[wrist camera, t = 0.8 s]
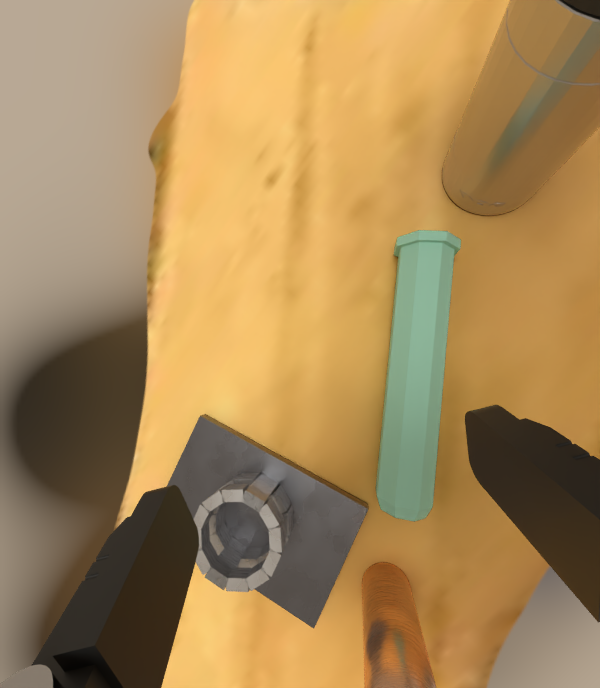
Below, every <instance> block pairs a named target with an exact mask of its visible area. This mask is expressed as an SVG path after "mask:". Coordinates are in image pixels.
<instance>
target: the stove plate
mask: <svg viewBox="0 0 600 688" xmlns="http://www.w3.org/2000/svg"><path fill="white" fill-rule="evenodd" d="M172 485H176V486H177V487H178V488H179V489H180V491H181V493H182V495H183V497H184V500H185V502H186V504H187V506H188V508H189V511H190V513H191V515H192V517H193V519H194V522H195V524H196V526H197V529H198V534H199V549H198V554H197V558H196V563H197V565H198V567H199V569H200V571H201V572H202V574H203V575H204V574H205V573H207V574H206V576H205V578H207V579H208V580H210V581H211V582H212V583H214V584H215V585H217V586H218V587H220V588H221V589H223V590H224V589H225V587H226V591H238V592H248V591H249V589H250V590H251V591H252V590H253V589H255V590H257V591H258V592H260V593H261V594H263V595H264V596H266V597H267V598H269V599H270V600H272V601H273V602H275V603H276V604H278V605H279V606H281V607H282V608H284V609H285V610H287V611H288V612H290V613H291V614H293V615H294V616H296V617H297V618H299V619H300V620H302V621H303V622H305V623H306V624H308V625H309V626H311V627H312V628H314V627H315V625H316V623H317V621H318V618H319V616H320V614H321V612H322V610H323V607H324V605H325V603H326V601H327V599H328V597H329V594H330V592H331V590H332V588H333V586H334V583H335V581H336V579H337V577H338V575H339V572H340V570H341V568H342V566H343V564H344V561H345V559H346V557H347V555H348V553H349V550H350V548H351V546H352V544H353V542H354V540H355V537H356V535H357V533H358V531H359V529H360V526H361V524H362V522H363V520H364V518H365V515H366V513H367V511H368V504H367V503H365V502H363V501H361V500H360V499H358V498H356V497H354V496H352V495H351V494H349V493H347V492H345V491H343V490H342V489H340V488H338V487H336V486H334V485H332V484H331V483H329V482H327V481H325V480H323V479H322V478H320V477H318V476H316V475H314V474H313V473H311V472H309V471H307V470H305V469H303V468H302V467H300V466H298V465H296V464H294V463H293V462H291V461H289V460H287V459H285V458H284V457H282V456H280V455H278V454H276V453H275V452H273V451H271V450H269V449H267V448H265V447H264V446H262V445H260V444H258V443H256V442H255V441H253V440H251V439H249V438H247V437H246V436H244V435H242V434H240V433H238V432H236V431H235V430H233V429H231V428H229V427H227V426H226V425H224V424H222V423H220V422H218V421H217V420H215V419H213V418H211V417H209V416H207V415H206V414H205V415H201V416H200V417H199V419H198V422H197V424H196V426H195V428H194V430H193V432H192V434H191V436H190V438H189V441H188V443H187V445H186V447H185V449H184V451H183V453H182V455H181V458H180V460H179V462H178V464H177V466H176V468H175V470H174V472H173V474H172V477H171V479H170V481H169V483H168V485H167V487H168V486H172Z"/></svg>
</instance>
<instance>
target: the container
mask: <svg viewBox="0 0 600 688" xmlns="http://www.w3.org/2000/svg"><path fill="white" fill-rule="evenodd" d="M460 247H461V239H459V238H457V237H456V236H454V235H453V234H451V233H449V232H448V231H426V230H418V231H415V232H412V233H409V234H406V235H403V236H400V237H398V238H397V241H396V244H395V249H394V255H395V256H397V257H398V265H397V276H396V286H395V296H394V306H393V317H392V327H391V337H390V347H389V358H388V368H387V378H386V388H385V399H384V409H383V419H382V429H381V440H380V450H379V460H378V470H377V481H376V494H377V498H378V502H379V505H380V508H381V510H383V511H384V512H386V513H388V514H390V515H391V516H393V517H395V518H399V519H404V520H409V521H414V522H415V521H418V520H421V519H424V518H426V517H427V515H428V513H429V512H430V510H431V509H432V507H433V497H434V485H435V474H436V462H437V450H438V438H439V427H440V415H441V403H442V391H443V380H444V368H445V356H446V345H447V333H448V321H449V309H450V298H451V286H452V274H453V262H454V256H455V255H456V253H457V252H458V251H459V250H460Z"/></svg>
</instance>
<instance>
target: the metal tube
mask: <svg viewBox="0 0 600 688" xmlns="http://www.w3.org/2000/svg"><path fill="white" fill-rule="evenodd" d="M362 604H363V641H364V679H365V688H436V685H435V681H434V677H433V673H432V669H431V665H430V661H429V658H428V654H427V650H426V646H425V642H424V638H423V634H422V630H421V626H420V623H419V619H418V615H417V611H416V607H415V603H414V599H413V595H412V591H411V588H410V584H409V581H408V579H407V577H406V575H405V574H404V573H403V571H402V570H401V569H399V568H398V567H397V566H395V565H393V564H390V563H385V562H381V563H376V564H374V565H372V566H370V567H369V568H368V569H367V570H366V572H365V574H364V576H363V579H362Z"/></svg>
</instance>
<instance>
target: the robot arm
mask: <svg viewBox="0 0 600 688" xmlns="http://www.w3.org/2000/svg"><path fill="white" fill-rule="evenodd" d="M599 127H600V0H510V2H509V4H508V7H507V9H506V12H505V14H504V17H503V19H502V22H501V24H500V27H499V29H498V31H497V34H496V36H495V39H494V41H493V44H492V46H491V49H490V51H489V54H488V56H487V58H486V61H485V63H484V66H483V68H482V71H481V73H480V76H479V78H478V81H477V83H476V85H475V88H474V90H473V93H472V95H471V98H470V100H469V103H468V105H467V108H466V110H465V112H464V115H463V117H462V120H461V122H460V125H459V127H458V129H457V132H456V134H455V137H454V139H453V142H452V144H451V146H450V149H449V151H448V154H447V156H446V159H445V161H444V165H443V169H442V181H443V185H444V189H445V190H446V192H447V194H448V196H449V197H450V198H451V199H452V201H453V202H454V203H455V204H457V205H458V206H459V207H461V208H462V209H464V210H466V211H469V212H471V213H475V214H479V215H498V214H504V213H507V212H510V211H513V210H515V209H516V208H518V207H520V206H522V205H523V204H524V203H525V202H527V201H528V200H529V199H530V198H531V197H532V196H533V195H534V194H535V193H536V192H537V191H538V190H539V189H540V188H541V187H542V186H543V185H544V184H545V183H546V182H547V181H548V179H549V178H550V177H551V176H552V175H553V174H555V173H556V172H557V170H558V169H559V168H560V167H561V166H562V165H563V164H564V163H565V162H566V161H567V160H568V159H569V158H570V157H571V156H572V155H573V154H574V153H575V152H576V151H577V150H578V149H579V148H580V147H581V146H582V145H583V144H584V143H585V142H586V140H587V139H588V138H589V137H590V136H591V135H592V134H593V133H594V132H595V131H596V130H597V129H598V128H599ZM465 425H466V434H467V444H468V454H469V461H470V465H471V468H472V470H473V473H474V475H475V477H476V478H477V480H478V481H479V483H480V484H481V485H482V487H483V488H484V489H485V490H486V491H487V492H488V494H489V495H490V496H491V497H492V498H493V499H494V501H495V502H496V503H497V504H498V505H499V506H500V508H501V509H502V510H503V511H504V512H505V513H506V515H507V516H508V517H509V518H510V519H511V521H512V522H513V523H514V524H515V525H516V526H517V528H518V529H519V530H520V531H521V532H522V533H523V535H524V536H525V537H526V538H527V539H528V540H529V542H530V543H531V544H532V545H533V546H534V547H535V549H536V550H537V551H538V552H539V553H540V555H541V556H542V557H543V558H544V559H545V560H546V562H547V563H548V564H549V565H550V566H551V567H552V569H553V570H554V571H555V572H556V573H557V574H558V576H559V577H560V578H561V579H562V580H563V581H564V583H565V584H566V585H567V586H568V587H569V588H570V590H571V591H572V592H573V593H574V594H575V596H576V597H577V598H578V599H579V600H580V601H581V603H582V604H583V605H584V606H585V607H586V608H587V609H588V611H589V612H590V613H591V614H592V615H593V617H594V618H595V619H596V620H597V621H598V622H600V460H599V459H598V458H596V457H594V456H590V455H589V453H588V452H587V451H585V450H584V449H582V448H581V447H579V446H578V445H576V444H572V443H571V441H570V440H569V439H567V438H566V437H564V436H563V435H561V434H560V433H558V432H556V431H555V430H553V429H552V428H550V427H548V426H545V425H542V424H540V423H537V422H534V421H531V420H529V419H526V418H525V419H521V420H519V419H518V418H516V417H515V416H513V415H512V414H511V413H509V412H508V411H506V410H505V409H504V408H502V407H501V406H499V405H493V406H489V407H485V408H481V409H477V410H473V411H469V412H467V413H466V415H465ZM198 549H199V534H198V529H197V526H196V524H195V522H194V519H193V517H192V515H191V513H190V511H189V508H188V506H187V504H186V502H185V500H184V497H183V495H182V493H181V491H180V489H179V488H178V487H177V486H176V485H172V486H168V487H164V488H160V489H156V490H152V491H148V492H146V493H144V494H143V496H142V497H141V499H140V501H139V503H138V504H137V506H136V508H135V510H134V511H133V513H132V515H131V516H130V517H127V518H126V519H125V520H124V521H123V522H122V523H121V524H120V525H119V526H118V528H117V529H116V530H115V531H114V532H113V533H112V534H111V535H110V536H109V537H108V539H107V541H106V543H105V544H104V546H103V547H102V549H101V551H100V553H99V554H98V556H97V558H96V559H97V560H96V562H94V563H93V564H92V566H91V568H90V569H89V571H88V573H87V574H86V576H85V577H86V578H85V581H82V583H81V584H80V586H79V588H78V590H77V591H76V593H75V594H74V596H73V598H72V599H71V601H70V603H69V604H68V606H67V608H66V609H65V611H64V613H63V614H62V616H61V618H60V619H59V621H58V623H57V624H56V626H55V628H54V629H53V631H52V633H51V634H50V636H49V638H48V639H47V641H46V643H45V644H44V646H43V648H42V649H41V651H40V653H39V654H38V656H37V658H36V660H35V661H34V662H33V664H32V666H30V667H27V668H24V669H22V670H21V671H18V672H17V673H15V674H13V675H12V676H10V677H9V678H7V679H6V680H5V681H3V682H2V683H1V684H0V688H161V686H162V682H163V679H164V675H165V671H166V668H167V664H168V660H169V657H170V653H171V650H172V646H173V642H174V639H175V635H176V631H177V628H178V624H179V620H180V617H181V613H182V609H183V606H184V602H185V598H186V595H187V591H188V587H189V584H190V580H191V576H192V573H193V569H194V565H195V562H196V558H197V554H198Z"/></svg>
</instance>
